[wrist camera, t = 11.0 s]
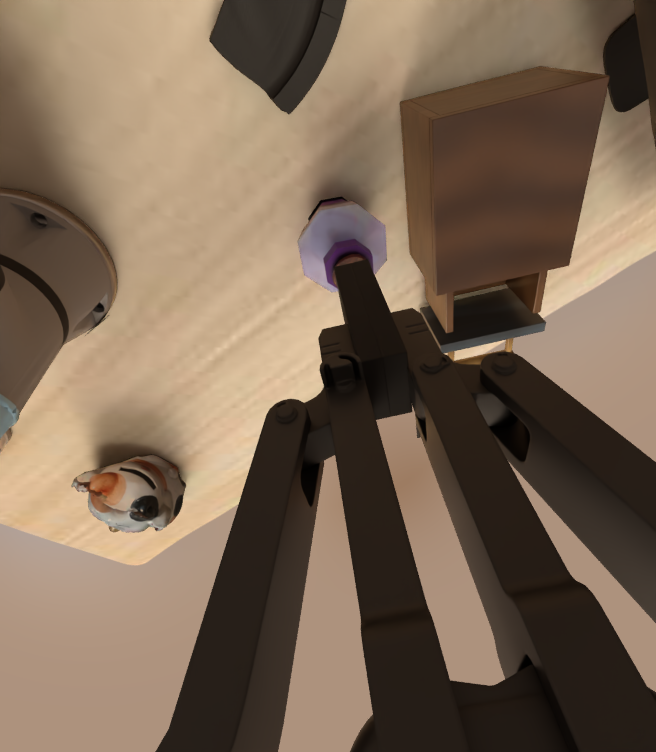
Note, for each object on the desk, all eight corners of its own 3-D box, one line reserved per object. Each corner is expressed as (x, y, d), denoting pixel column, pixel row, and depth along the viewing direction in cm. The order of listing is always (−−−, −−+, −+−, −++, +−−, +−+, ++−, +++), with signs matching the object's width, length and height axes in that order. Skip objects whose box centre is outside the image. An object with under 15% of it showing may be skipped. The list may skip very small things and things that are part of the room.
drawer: (507, 334, 53) (536, 372, 48) (422, 353, 54) (440, 392, 48) (525, 180, 41) (568, 205, 35) (414, 206, 41) (438, 236, 35)
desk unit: (521, 227, 45) (569, 265, 38) (409, 253, 46) (436, 296, 38) (540, 65, 35) (610, 75, 28) (399, 101, 36) (432, 119, 29)
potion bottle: (320, 276, 46) (333, 336, 37) (276, 211, 41) (278, 263, 32) (388, 235, 44) (419, 289, 35) (350, 161, 39) (375, 201, 30)
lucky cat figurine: (82, 484, 65) (31, 534, 52) (123, 425, 64) (82, 459, 51) (164, 529, 68) (137, 586, 55) (204, 473, 67) (186, 517, 54)
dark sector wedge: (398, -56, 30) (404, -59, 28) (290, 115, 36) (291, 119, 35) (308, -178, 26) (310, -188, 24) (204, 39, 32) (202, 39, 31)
